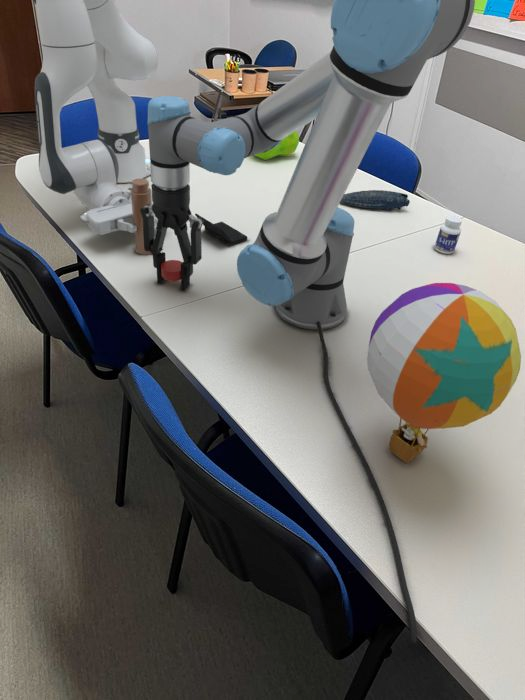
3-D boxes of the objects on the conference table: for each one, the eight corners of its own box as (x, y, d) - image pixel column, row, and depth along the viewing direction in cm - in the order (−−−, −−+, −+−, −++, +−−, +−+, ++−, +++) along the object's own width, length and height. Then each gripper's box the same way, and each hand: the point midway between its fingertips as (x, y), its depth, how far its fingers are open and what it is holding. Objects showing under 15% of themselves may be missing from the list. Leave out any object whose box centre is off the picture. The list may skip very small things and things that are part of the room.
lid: (180, 283, 113) (180, 273, 112) (157, 278, 114) (157, 269, 112) (188, 271, 117) (188, 262, 116) (166, 267, 118) (165, 258, 116)
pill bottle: (433, 251, 139) (442, 220, 133) (435, 243, 143) (444, 213, 137) (453, 256, 138) (464, 225, 132) (454, 247, 142) (465, 217, 136)
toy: (317, 443, 83) (351, 282, 64) (393, 393, 94) (441, 242, 75) (417, 530, 72) (494, 366, 53) (490, 462, 83) (575, 305, 64)
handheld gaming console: (252, 231, 136) (235, 208, 128) (239, 253, 135) (221, 232, 127) (220, 222, 143) (201, 200, 134) (207, 244, 141) (188, 223, 133)
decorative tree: (213, 119, 187) (294, 118, 192) (214, 148, 193) (292, 147, 198) (219, 133, 173) (306, 132, 178) (220, 165, 179) (303, 163, 185)
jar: (134, 254, 126) (128, 184, 115) (137, 245, 130) (131, 177, 119) (153, 255, 127) (149, 185, 116) (156, 246, 130) (151, 178, 119)
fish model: (408, 214, 157) (412, 198, 153) (339, 207, 158) (341, 191, 154) (406, 206, 162) (410, 190, 159) (339, 199, 163) (341, 183, 160)
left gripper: (74, 203, 123) (104, 224, 116) (148, 185, 135) (179, 204, 127) (78, 228, 127) (108, 250, 120) (149, 208, 139) (180, 227, 131)
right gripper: (221, 187, 103) (217, 286, 117) (140, 168, 107) (146, 266, 122) (204, 200, 97) (202, 303, 112) (119, 179, 102) (129, 281, 116)
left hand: (145, 226), depth 124 cm, fingers closed on jar, 5 cm apart
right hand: (173, 283), depth 117 cm, fingers closed on lid, 5 cm apart
